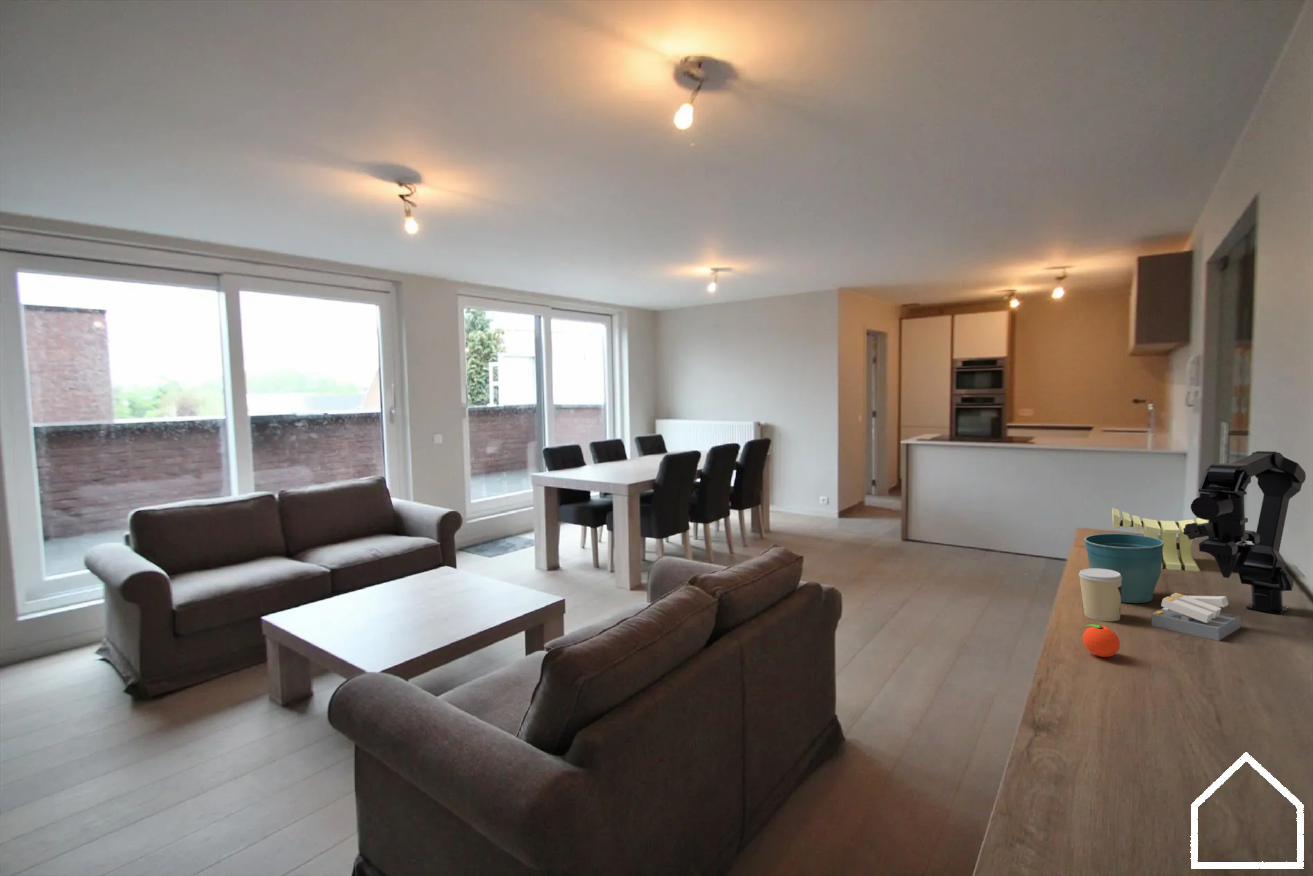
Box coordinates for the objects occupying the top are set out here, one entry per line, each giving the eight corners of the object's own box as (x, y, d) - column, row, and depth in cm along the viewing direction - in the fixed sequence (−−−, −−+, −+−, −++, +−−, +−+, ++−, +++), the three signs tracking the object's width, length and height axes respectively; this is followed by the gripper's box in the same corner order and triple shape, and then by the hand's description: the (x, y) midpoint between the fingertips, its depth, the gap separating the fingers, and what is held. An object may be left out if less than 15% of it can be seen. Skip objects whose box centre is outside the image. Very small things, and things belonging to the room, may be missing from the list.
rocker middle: (1174, 599, 153) (1176, 592, 152) (1219, 615, 145) (1221, 607, 145) (1169, 602, 151) (1170, 594, 151) (1214, 618, 144) (1216, 610, 143)
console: (1174, 613, 157) (1174, 599, 157) (1240, 627, 146) (1239, 611, 146) (1151, 625, 151) (1151, 610, 151) (1218, 641, 140) (1218, 624, 139)
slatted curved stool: (1227, 561, 196) (1225, 508, 196) (1237, 574, 184) (1235, 517, 183) (1114, 554, 214) (1111, 505, 214) (1115, 565, 201) (1113, 514, 201)
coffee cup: (1131, 622, 154) (1129, 577, 153) (1091, 622, 156) (1089, 578, 155) (1112, 610, 163) (1110, 567, 163) (1074, 610, 165) (1072, 568, 164)
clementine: (1071, 652, 140) (1070, 623, 139) (1090, 645, 142) (1088, 617, 142) (1109, 664, 132) (1107, 633, 132) (1127, 657, 135) (1126, 627, 135)
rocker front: (1166, 603, 151) (1168, 595, 150) (1211, 620, 143) (1213, 612, 143) (1161, 606, 149) (1162, 598, 149) (1206, 623, 142) (1208, 614, 141)
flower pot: (1097, 606, 167) (1094, 547, 166) (1079, 587, 183) (1076, 533, 183) (1177, 609, 160) (1175, 547, 159) (1151, 589, 177) (1148, 533, 176)
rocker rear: (1184, 603, 155) (1181, 595, 155) (1228, 604, 147) (1225, 595, 147) (1179, 605, 153) (1176, 597, 154) (1223, 607, 146) (1221, 598, 146)
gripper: (1202, 505, 160) (1205, 562, 161) (1172, 516, 151) (1174, 576, 152) (1259, 509, 150) (1261, 570, 151) (1230, 521, 141) (1232, 585, 142)
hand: (1230, 575), depth 149 cm, fingers open, 6 cm apart
